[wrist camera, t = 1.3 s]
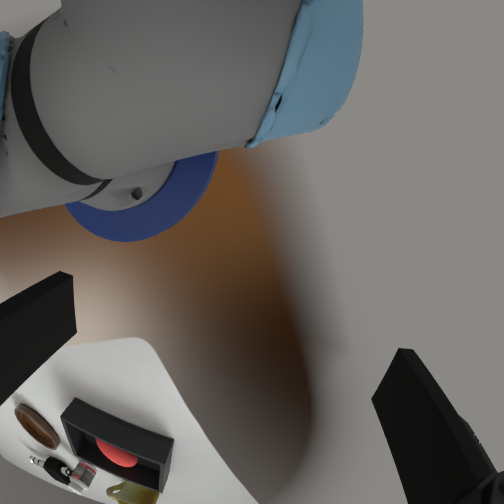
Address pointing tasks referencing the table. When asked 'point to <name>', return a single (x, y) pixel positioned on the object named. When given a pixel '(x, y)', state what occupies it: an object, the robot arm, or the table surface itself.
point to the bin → (118, 445)
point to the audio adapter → (54, 469)
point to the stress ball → (117, 454)
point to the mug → (132, 494)
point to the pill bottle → (82, 477)
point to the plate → (37, 427)
